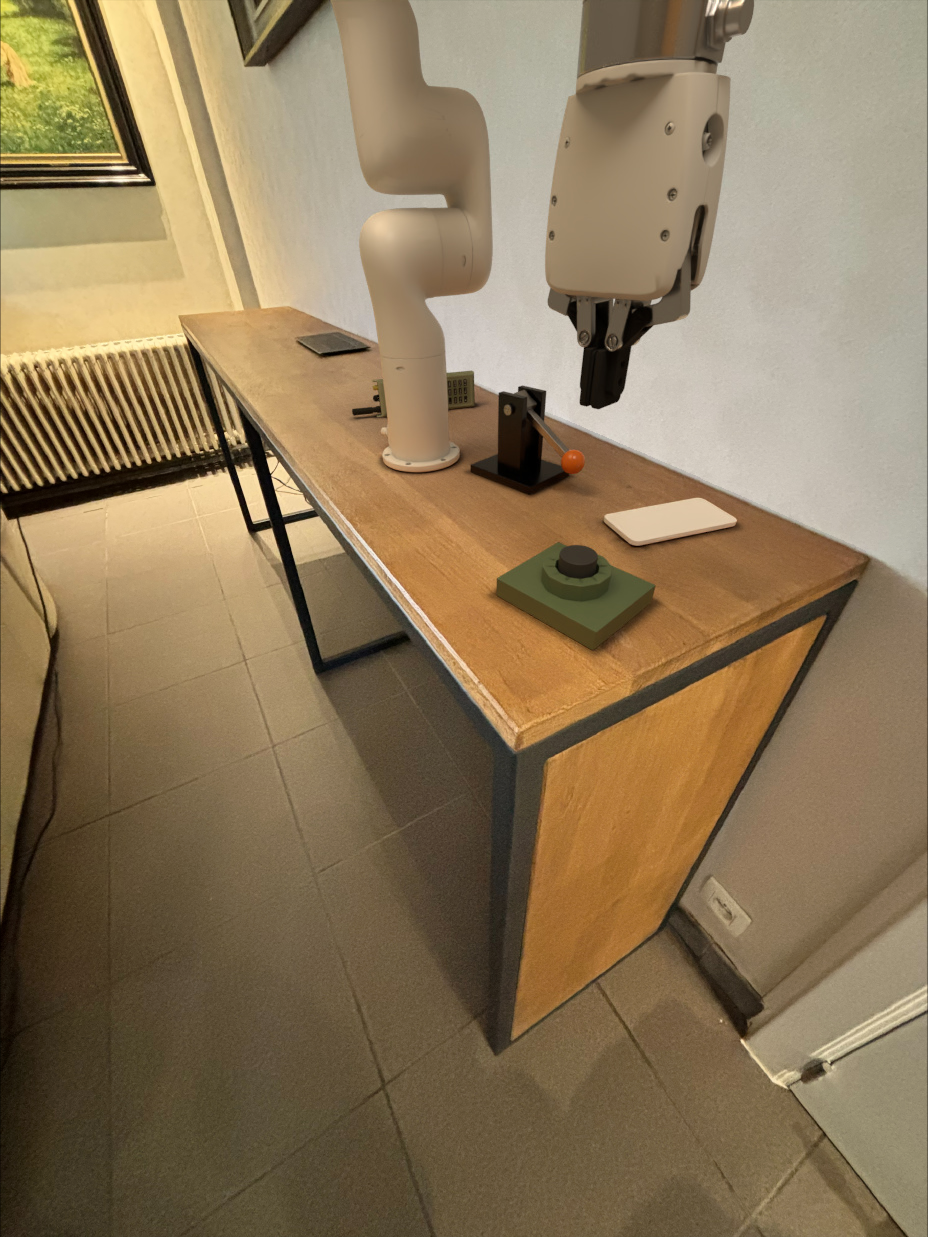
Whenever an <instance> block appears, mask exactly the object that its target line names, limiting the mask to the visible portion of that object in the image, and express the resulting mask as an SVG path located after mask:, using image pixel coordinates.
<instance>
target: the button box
mask: <svg viewBox="0 0 928 1237" xmlns="http://www.w3.org/2000/svg"><path fill="white" fill-rule="evenodd" d="M567 546H568V545H567V544H564V543H562V542H560V541H557V542H555V543H554V544H552V545H551V546H549V547H547V548H545V549H544V550H542V551H540V552H539V553H537V554H534V555H533V556H532V557H530V558H529V559H527V560H525V561H524V562H522V563H520V564H518V565H516V566H515V567H513V568H512V569H509V570H508V571H506V572H505V573H503V574H501V575H500V576H497V577H496V592H495V594H496V595H495V596H497V597H499V598H500V599H501V600H503V601H505V602H507V603H508V604H511V605H512V606H514V607H516V608H518V609H519V610H521V611H523V612H524V613H526V614H528V615H530V616H532V617H533V618H536V620H539V621H541V622H542V623H544V624H545V625H547V626H549V627H551V628H553V629H555V630H556V631H558V632H559V633H562V634H563V635H565V636H566V637H568V638H570V639H572V640H573V641H575V642H577V643H579V644H581V645H583V646H584V647H586V648H588V649H590V650H591V651H594V650H595V649H597V648H598V647H599V646H600V645H602V644H603V643H604V642H605V641H607V640H608V639H609V638H610V637H612V635H614V634H615V633H616V632H617V631H619V630H620V629H622V627H624V626H625V625H627V623H629V622H630V621H631V620H632V619H634V617H636V616H637V615H638V614H639V613H641V612H642V611H643V610H644V609H646V608H647V607H648V606H649V605H650V604H652V603H653V602H652V601H653V598H654V594H655V591H656V584H654V583H652V582H650V581H648V580H646V579H643V578H641V577H639V576H636V575H634V574H632V573H629V572H627V571H625V570H623V569H620V568H619V567H616V566H614V565H612V564H611V563H610V562H609V561H608V560H607V559H606V558H605V557H604V556H603V555H601V554H598V560H597V566H596V572H595V574H594V575H593V576H592V577H589V578H583V579H577V578H570V577H567V576H565V575H563V574H561V573H560V572H559V570H558V563H559V554H560V551H561V550H562V549H563V548H564V547H567Z"/></svg>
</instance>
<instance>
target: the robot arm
mask: <svg viewBox="0 0 928 1237" xmlns="http://www.w3.org/2000/svg"><path fill="white" fill-rule="evenodd" d="M329 1H330V4H331V6H332V10H333V14H334V17H335V20H336V23H337V24H336V25H337V27H338V33H339V38H340V42H341V49H342V57H343V63H344V71H345V78H346V85H347V91H348V97H349V106H350V112H351V119H352V127H353V132H354V133H353V134H354V138H355V145H356V151H357V155H358V157H357V158H358V162H359V166H360V167H359V168H360V170H361V173H362V177H363V179H364V181H365V182H366V184H367V185H368V187H369V188H370V189H371V190H373V191H375V192H377V193H380V194H384V195H392V196H424V195H425V196H427V195H429V196H431V195H442V196H443V197H444V199H445V202H446V207H399V208H397V207H396V208H389V209H384V210H381V211H378V212H375V213H373V214H372V215H370V216H369V217H368V218H367V219H366V220H365V222H364V223H363V224H362V226H361V229H360V233H359V238H358V247H359V248H358V249H359V256H360V260H361V265H362V269H363V273H364V277H365V282H366V285H367V288H368V293H369V297H370V302H371V307H372V311H373V317H374V322H375V329H376V336H377V343H378V345H377V346H378V352H379V359H380V360H379V361H380V367H381V375H382V379H383V385H384V393H385V402H386V410H387V417H386V418H387V425H386V426H383V427H381V429H380V434H381V435H382V436H384V437H386V438H387V442H388V446H387V447H386V448H384V450H382V454H381V456H382V462H383V464H384V465H385V466H387V467H388V468H390V469H393V470H396V471H399V472H400V471H401V472H406V473H426V472H427V473H428V472H433V471H438V470H443V469H445V468H448V467H450V466H452V465H454V464H455V463H456V462H458V461H459V459H460V456H461V454H460V453H461V452H460V447H459V446H458V445H457V444H456V443H454V442H452V441H450V419H449V409H448V395H447V373H448V372H447V358H446V357H447V356H446V354H447V352H446V339H445V333H444V331H443V328H442V326H441V324H440V322H439V320H438V319H437V318H436V316H435V314H433V312H432V311H431V309H430V308H429V307H428V305H427V303H426V300H428V299H432V298H439V297H440V298H441V297H451V296H461V295H468V294H474V293H477V292H478V291H481V290H482V289H483V288H484V287H485V286H486V285H487V282H488V281H489V279H490V277H491V276H490V275H491V271H492V268H493V267H492V266H493V257H494V256H493V255H494V254H493V252H494V250H493V248H494V245H493V244H494V243H493V213H492V212H493V211H492V210H493V209H492V182H491V181H492V180H491V157H490V156H491V155H490V153H491V152H490V139H489V132H488V126H487V121H486V117H485V114H484V112H483V109H482V107H481V105H480V103H479V101H478V99H476V97H475V96H474V95H473V94H472V93H470V92H469V91H467V90H465V89H462V88H459V87H452V86H435V85H428V84H427V82H426V81H425V78H424V76H423V70H422V60H421V50H420V49H421V48H420V39H419V38H420V35H419V27H418V22H417V18H416V15H415V13H414V10H413V6H412V5H411V3H410V0H329ZM754 9H755V0H582V8H581V18H580V32H579V45H578V57H577V68H576V69H577V70H576V85H575V94H572V95H569V96H568V97H567V101H566V105H565V109H564V114H563V119H562V122H561V129H560V133H559V139H558V144H557V150H556V155H555V161H554V168H553V175H552V180H551V181H552V182H551V189H550V196H549V197H550V198H549V205H548V206H549V207H548V212H547V213H548V215H547V224H546V225H547V226H546V235H545V251H544V252H545V254H544V275H545V281H546V284H547V285H548V287H549V291H548V292H549V293H548V297H547V306H548V308H549V309H551V310H552V311H555V312H557V313H559V314H561V315H562V316H565V317H568V319H569V321H570V322H571V324H572V326H573V327H574V329H575V331H576V340H577V343H578V345H579V346H580V347H581V348H583V352H582V359H581V360H582V361H581V370H580V379H579V388H580V394H579V405H580V406H582V407H591V408H592V409H595V410H601V409H603V408H606V407H608V406H611V405H613V404H616V403H618V402H619V401H620V399H621V395H622V394H623V393H624V391H625V388H626V382H627V376H628V369H629V364H630V357H631V352H632V347H633V346H636V345H637V344H639V342H640V341H641V338H642V337H643V336H644V335H645V334H647V332H649V331H650V330H651V329H652V328H653V327H654V326H658V325H662V324H668V323H674V322H676V321H681V320H685V319H686V318H687V317H688V316H689V314H690V312H691V294H692V291H693V290H695V289H697V288H698V287H699V286H700V285H701V283H702V281H703V279H704V276H705V274H706V271H707V267H708V262H709V258H710V254H711V248H712V243H713V239H714V234H715V226H716V221H717V215H718V210H719V204H720V197H721V190H722V182H723V176H724V168H725V160H726V151H727V140H728V131H729V118H730V117H729V116H730V101H731V82H732V81H731V77H730V76H727V75H722V74H717V73H718V66H719V64H721V63H722V61H723V59H724V52H725V49H726V44H727V43H729V42H730V41H731V40H732V39H733V38H734V37H735V38H736V37H738V36H739V37H740V36H742V35H745V34H746V33H747V32H748V30H749V28H750V25H751V23H752V20H753V16H754ZM658 299H660V300H658ZM653 300H658V302H657V303H653V304H652V301H653Z"/></svg>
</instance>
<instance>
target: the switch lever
mask: <svg viewBox="0 0 928 1237" xmlns="http://www.w3.org/2000/svg"><path fill="white" fill-rule="evenodd" d="M513 394H517V395H521V396H525V397H527V416H526V418H527V419H528V421H529V422H530V423H531V424H532V425H533V426H534V427H535V428H536V429H537V431H538V432H539V433H540V434H541V435H542V436H543V439H544V440H545V441H546V442H547V443H548V444H549V445H550V446H551V448H552V449H553V450H554V451H555V452H556V453H557V454H558V455H559V456H560V457H561V459H560V466H562V469H563V470H564V471H565V472H566V473H568V474H569V475H575V474H578V473H580V472H581V471H582V470H583V469H584V467H585V465H586V458H585V455H584V453H583V452H581V451H580V450H578V449H569V447H567V446H566V444H565V443H564V442H563V441H562V440H561V439H560V437H558V435H557V434H556V433H555V432H554V431H553V429H551V427H550V426H549V425H548V424H547V423H546V421H545V420H544V421H543V420H542V419H541V418H540V417H539V416H538V415H537V413H536V412H535V411H534V408H535V407H536V405H537V403H536V402H535V401H534V400H533V399H532V398H531V396H530V395H529V394H528V393H527V392H526V391H525V390H522V391H519V392H518V391H516V392H514V393H513Z"/></svg>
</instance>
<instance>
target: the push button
mask: <svg viewBox="0 0 928 1237" xmlns="http://www.w3.org/2000/svg"><path fill="white" fill-rule="evenodd" d="M566 546H567V547H564V548H563V549H562V550H561V551H560V554H559V563H558V570H559V572H560V573H561V574H563V575H565V576H567V577H570V578H577V579H583V578H589V577H592V576H593V575H594V574H595V572H596V566H597V560H598V555H599V554H598V553H597V551H596V550H595V549H593V548H592V547H590V546H587V545H581V544H572V545H566Z"/></svg>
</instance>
